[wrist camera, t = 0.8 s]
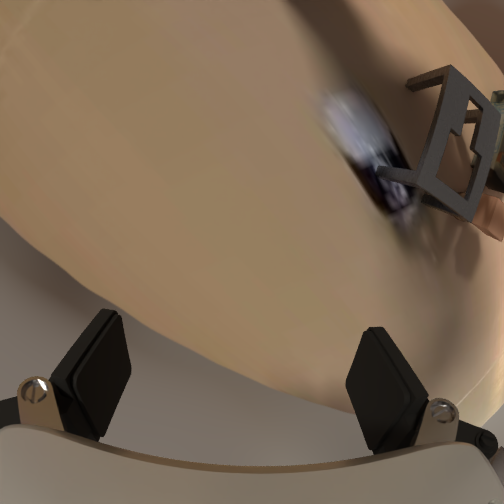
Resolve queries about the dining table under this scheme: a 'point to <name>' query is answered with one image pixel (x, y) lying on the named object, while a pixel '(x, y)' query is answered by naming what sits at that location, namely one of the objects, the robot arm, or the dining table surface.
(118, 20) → the dining table surface
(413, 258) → the dining table surface
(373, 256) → the dining table surface
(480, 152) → the keyhole rack
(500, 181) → the beverage carton
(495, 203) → the t peg
